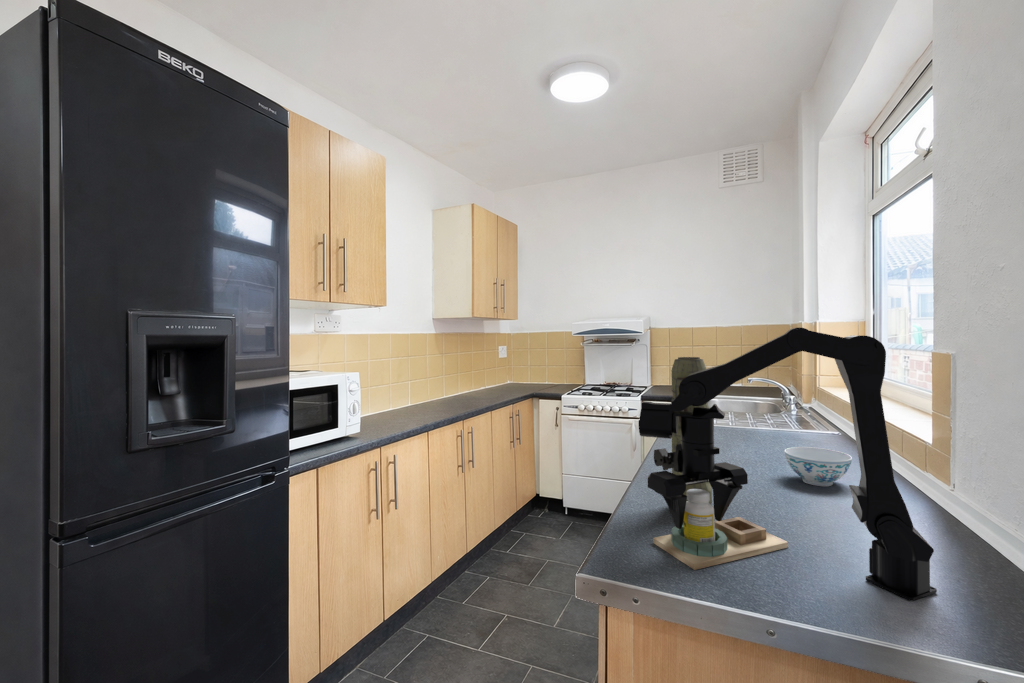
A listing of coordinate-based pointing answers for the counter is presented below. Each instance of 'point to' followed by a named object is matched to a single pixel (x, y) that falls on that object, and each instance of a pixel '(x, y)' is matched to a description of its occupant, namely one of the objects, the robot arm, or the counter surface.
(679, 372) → the thermos
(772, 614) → the counter surface
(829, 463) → the chinaware
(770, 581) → the counter surface
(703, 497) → the supplement bottle
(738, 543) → the socket board
